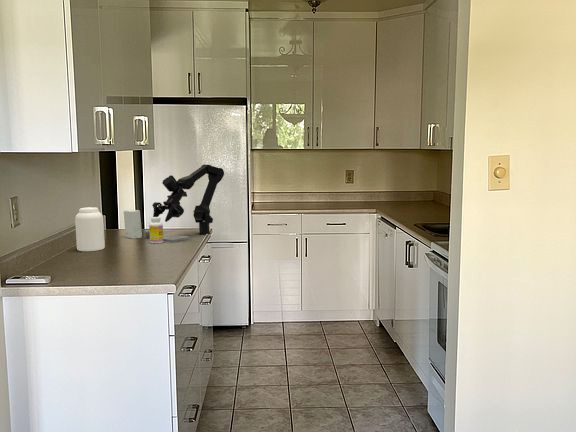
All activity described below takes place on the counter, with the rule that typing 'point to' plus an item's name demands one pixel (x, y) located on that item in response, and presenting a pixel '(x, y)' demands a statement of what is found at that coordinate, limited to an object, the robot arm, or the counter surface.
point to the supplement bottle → (156, 230)
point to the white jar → (89, 230)
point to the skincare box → (132, 224)
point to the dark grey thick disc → (147, 235)
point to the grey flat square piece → (175, 238)
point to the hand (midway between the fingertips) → (159, 220)
